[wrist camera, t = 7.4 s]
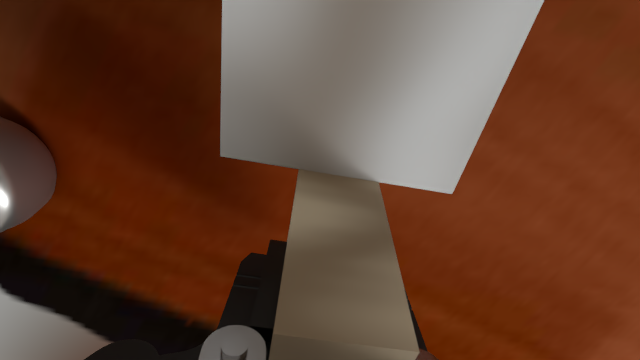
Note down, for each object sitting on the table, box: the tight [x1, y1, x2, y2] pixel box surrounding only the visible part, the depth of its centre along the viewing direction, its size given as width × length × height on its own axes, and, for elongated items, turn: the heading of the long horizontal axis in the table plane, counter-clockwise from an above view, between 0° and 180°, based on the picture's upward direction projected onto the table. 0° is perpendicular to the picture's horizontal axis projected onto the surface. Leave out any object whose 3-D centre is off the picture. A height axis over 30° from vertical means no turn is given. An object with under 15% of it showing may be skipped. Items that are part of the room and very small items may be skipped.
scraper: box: [220, 0, 544, 360], centre depth 8 cm, size 7×16×6 cm, turn 170°
